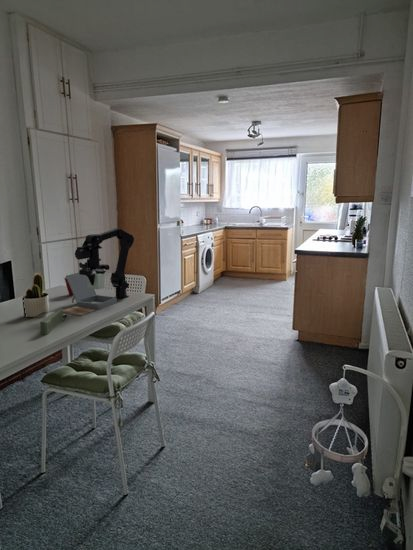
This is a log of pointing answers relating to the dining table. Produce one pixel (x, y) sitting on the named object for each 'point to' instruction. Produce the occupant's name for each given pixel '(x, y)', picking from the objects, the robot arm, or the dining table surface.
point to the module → (96, 281)
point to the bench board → (78, 310)
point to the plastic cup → (68, 287)
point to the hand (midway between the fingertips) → (95, 284)
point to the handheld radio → (52, 321)
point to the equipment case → (87, 293)
